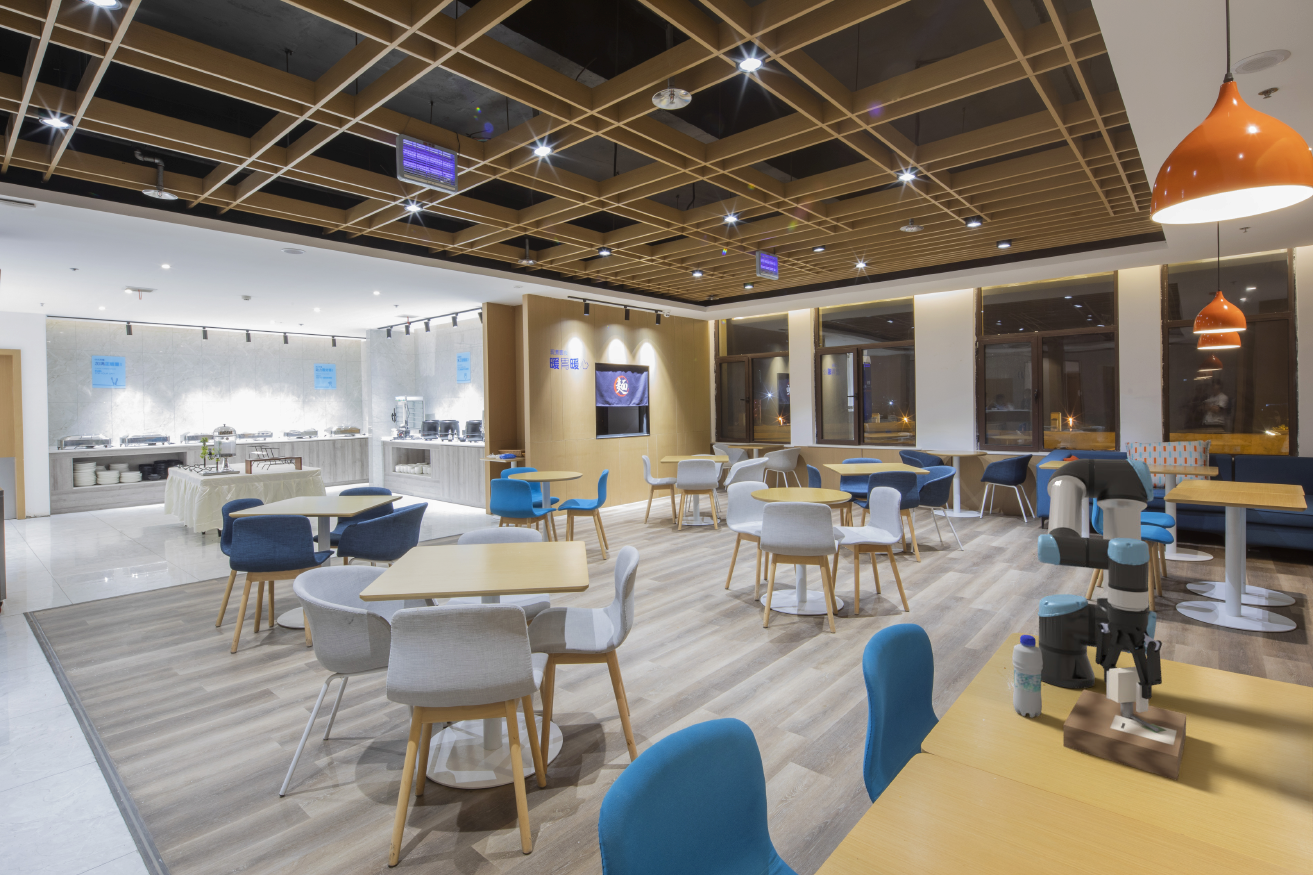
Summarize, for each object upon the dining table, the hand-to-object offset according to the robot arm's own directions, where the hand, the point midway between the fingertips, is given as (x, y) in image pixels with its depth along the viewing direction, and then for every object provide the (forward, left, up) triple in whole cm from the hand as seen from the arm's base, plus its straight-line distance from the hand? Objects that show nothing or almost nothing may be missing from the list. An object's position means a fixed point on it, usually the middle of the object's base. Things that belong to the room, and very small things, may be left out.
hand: (1126, 703), depth 145 cm
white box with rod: (+3, -2, -3) cm, 4 cm away
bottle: (-20, -2, -8) cm, 22 cm away
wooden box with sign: (0, -2, -8) cm, 8 cm away
